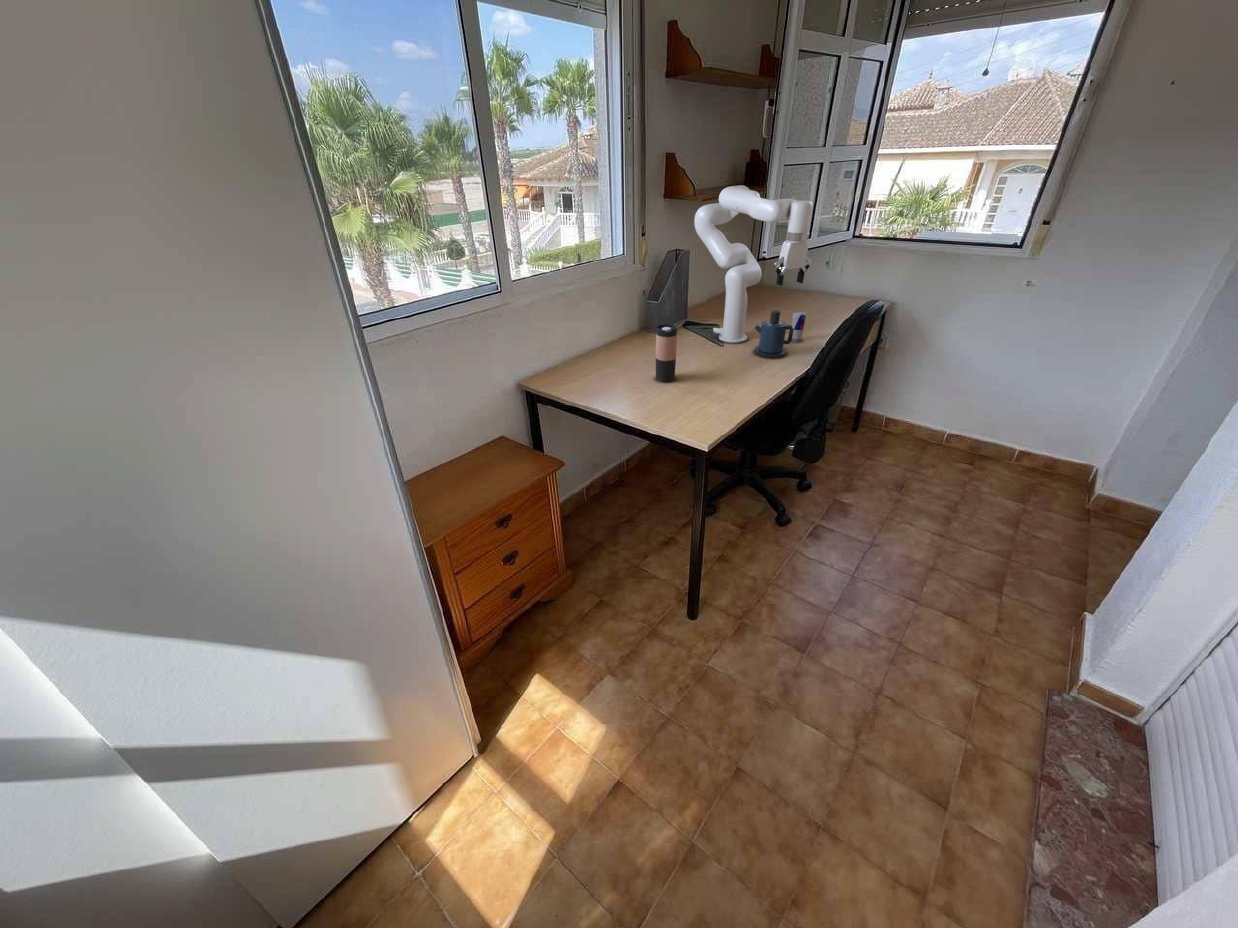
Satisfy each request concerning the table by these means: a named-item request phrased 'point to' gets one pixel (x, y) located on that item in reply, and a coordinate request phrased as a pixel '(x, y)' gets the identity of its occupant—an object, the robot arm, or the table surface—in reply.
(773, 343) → the kettle
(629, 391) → the table surface
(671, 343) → the travel mug
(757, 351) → the base
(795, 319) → the energy drink
